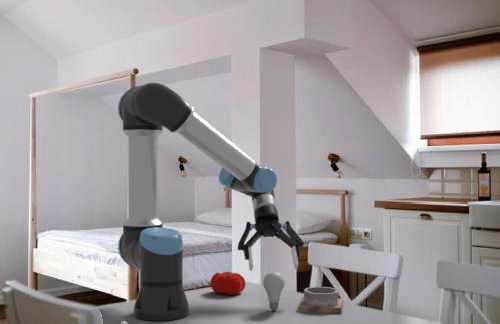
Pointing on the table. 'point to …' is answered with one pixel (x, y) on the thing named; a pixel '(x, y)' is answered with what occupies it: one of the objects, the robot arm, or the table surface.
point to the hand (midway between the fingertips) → (274, 267)
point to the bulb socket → (321, 300)
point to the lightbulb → (273, 288)
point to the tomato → (227, 283)
